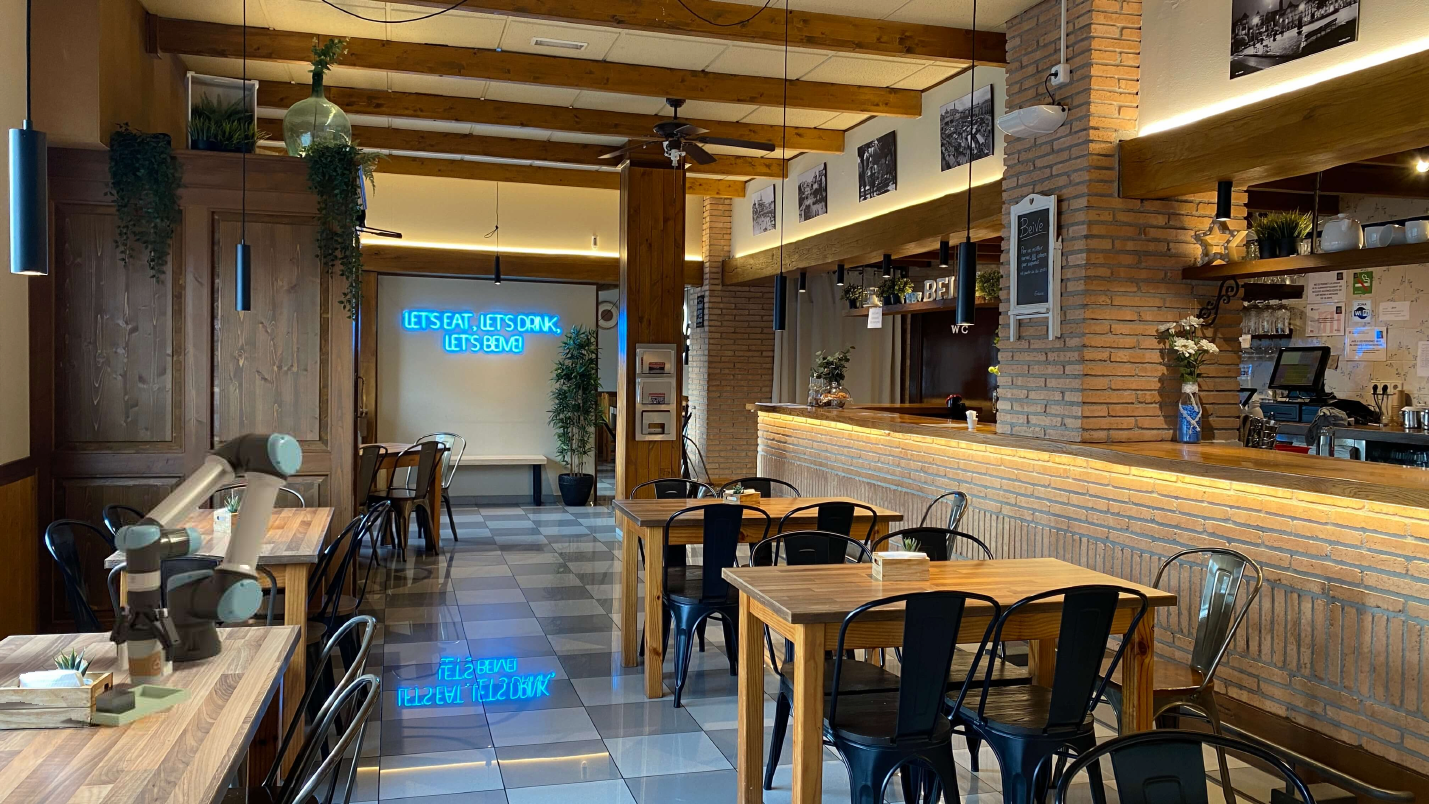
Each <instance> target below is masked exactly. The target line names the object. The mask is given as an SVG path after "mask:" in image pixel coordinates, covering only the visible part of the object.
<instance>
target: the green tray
mask: <svg viewBox="0 0 1429 804" xmlns="http://www.w3.org/2000/svg"><path fill="white" fill-rule="evenodd" d="M127 691H135V709H133V710H130V711H128V712H125V713H122V714H120V715H118V714H110V713H102V712H92V713H91V715H92V716H91V718H92V720H91V723H90V724H94V725H95V724H97V725H105V726H111V727H112V726H113V727H119V728H120V727H122V726H124V725H127V724H129V723H132V722H135V721H137V720H139V719H143V718H145V717H147V716H150V715H152V714H155V713H158V712H160V711H162V710H165V709H168V708H171V707H173V706H175V705H178V704H180V703H183V702H185V701H188V700H191V689H190V688H183V687H174V686H173V687H172V686H165V685H164V686H163V685H159V686H156V685H147V684H144V685H141V686H138V687H135V688H134V687H132V688H129V689H127Z"/></svg>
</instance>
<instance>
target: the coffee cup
mask: <svg viewBox="0 0 1429 804" xmlns="http://www.w3.org/2000/svg"><path fill="white" fill-rule="evenodd" d="M126 640H127V642H126V643H127V650H128V664H129V669H128V671H129V677H130V678H129V680H130V686H131V687H132V688H135V687H138V686H141V685H144V684H147V685H156V686H160V683H161V649H162V647H163V646H162V645H161V643H160V642H159V640H158V639H157V637H156V636H155V634H154V633H153V631H152V630H151V629H150V628H148V627H147V626H143V625H137V626H134V627H131V628H129V629H128V633H126Z"/></svg>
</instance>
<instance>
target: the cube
mask: <svg viewBox="0 0 1429 804" xmlns="http://www.w3.org/2000/svg"><path fill="white" fill-rule="evenodd" d="M127 690H128V689H127ZM127 690H126V689H117V688H114V689H111V690H108V691H106V692H103V693H100V694H97V695H98V696H97V697H95V702H96V712H102V713H110V714H118V715H120V714H122V713H125V712H128V711H130V710H133V709H135V691H127Z"/></svg>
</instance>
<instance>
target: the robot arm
mask: <svg viewBox="0 0 1429 804" xmlns="http://www.w3.org/2000/svg"><path fill="white" fill-rule="evenodd" d="M302 461H303V452H302V448H301V447H300V444H299V442H298V441H297V439H295V438H294V437H292V436H291V435H287V434H283V433H281V434H280V433H254V432H253V433H252V432H251V433H250V432H249V433H244V434H239V435H237V436H235V437H233V438H231V439H229V440H226V442H225V443H223V444H221V445H220V446H218V447H217V448H216V449H215V450H214V451H212V452H211V453H210V454H209V455H208V456H206V458H205V459H204V464H203V465H202V466H201V467H200V468H199V469H197V471H195V472H193V474H191V476H190V477H188V478H187V479H186V480H185V481H183V483H181V485H179V486H178V487H177V488H176V489H175V490H174V491H173V492H171V493H170V494H169V495H168V496H167V497H166V498H165V499H164V500H162V501H161V502H160V503H159V504H158V505H157V506H155V508H153V509H152V510H151V511H150V512H149V513H148V514H146V516H144V518H142V519H141V520H140V521H138V522H137V523H136V524H135V525H133V524H131V525H124V526H123V527H120V528H119V530H117V532H116V534H115V535H114V536H115V538H114V546H115V547H116V549H117V551H119V552H120V553H122V554H124V555H125V568H126V569H125V572H126V573H125V576H126V578H125V580H126V588H127V589H128V590H126V593H125V594H126V605H121V606H119V607H118V615H117V617H116V620H115V622H114V625H113V628H112V630H111V632H110V636H109V638H108V639H109V642H111V643H112V642H114V644H115V646H116V657H117V659H118V660H117V661H118V663H117V664H118V667H117V668H118V670H117V671H118V672H123V671H127V670H129V664H128V650H127V640H126V633H128V629H129V628H131V627H134V626H139V625H143V626H147V627H148V628H150V629H151V630H152V631H153V633H154V634H155V636H156V637H157V639H158V640H159V642H160V643H161V645H162V649H161V674H160V677H161V676H167V675H170V674H173V662H188V661H189V662H190V661H197V660H203V659H207V658H211V657H214V656H217V655H219V654H220V653H222V649H223V648H222V647H223V645H222V641H221V639H220V637H219V634H218V630H217V628H216V625H215V621H219V622H220V621H221V622H224V623H229V624H230V623H242V622H245V621H247V620H249V619H250V618H251V617H253V616H254V615H255V614H256V613H257V611H258V610H259V609H260V607H261V605H262V602H263V601H262V600H263V595H264V593H263V591H262V589H263V588H262V586H261V585H260V583H258V582H259V577H260V575H259V574H258V573H257V570H256V568H257V564H258V561H259V558H260V557H259V556H260V554H261V551H262V549H263V548H262V547H263V544H264V541H265V537H266V533H267V530H268V527H269V523H270V520H271V516H272V513H273V510H274V506H275V503H276V500H277V496H278V492H279V490H280V488H282V487H284V486H285V485H287V483H288V479H289V476H292V475H294V474H296V473H297V472H298V471H299V469H300V468H301V465H302ZM241 475H243V477H245V479H246V485H245V488H244V492H243V496H242V498H241V501H240V504H239V508H238V512H237V514H236V518H235V520H234V524H233V527H232V528H233V529H232V532H231V534H230V538H229V541H228V543H227V547H226V551H225V553H224V557H223V561H222V563H221V564H219V565H218V566H216V567H214V569H213V570H212V569H203V570H194V571H188V572H184V573H179V574H175V575H172V576H169V578H168V579H167V583H166V585H167V587H166V591H165V592H166V607H165V608H159V604H160V602H161V601H162V596H161V595H162V590H161V588H160V587H159V586H161V585H162V584H161V583H162V581H161V580H162V579H161V577H162V576H161V562H162V561H168V560H169V561H170V560H174V559H178V558H187V557H188V556H191V555H192V556H193V555H194V554H196V553H198V552H199V551H200V549H201V548H202V543H203V539H202V535H201V533H200V531H199V530H198V529H197V528H196V527H193V526H182V527H179V528H177V527H178V526H179V525H181V524H182V522H183V521H184V520H185V519H187V518H188V517H189V516H190V515H191V514H193V513H194V512H195V511H196V510H197V509H198V508H199V507H200V506H201V505H202V504H203V503H204V502H206V500H207V499H209V498H210V497H211V496H212V495H213V494H214V493H215V492H216V491H218V490H219V488H221V487H222V486H223V485H224V484H225V483H230V482H233V481H234V480H235V479H236V478H237V477H238V476H241ZM185 521H186V520H185Z"/></svg>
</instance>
